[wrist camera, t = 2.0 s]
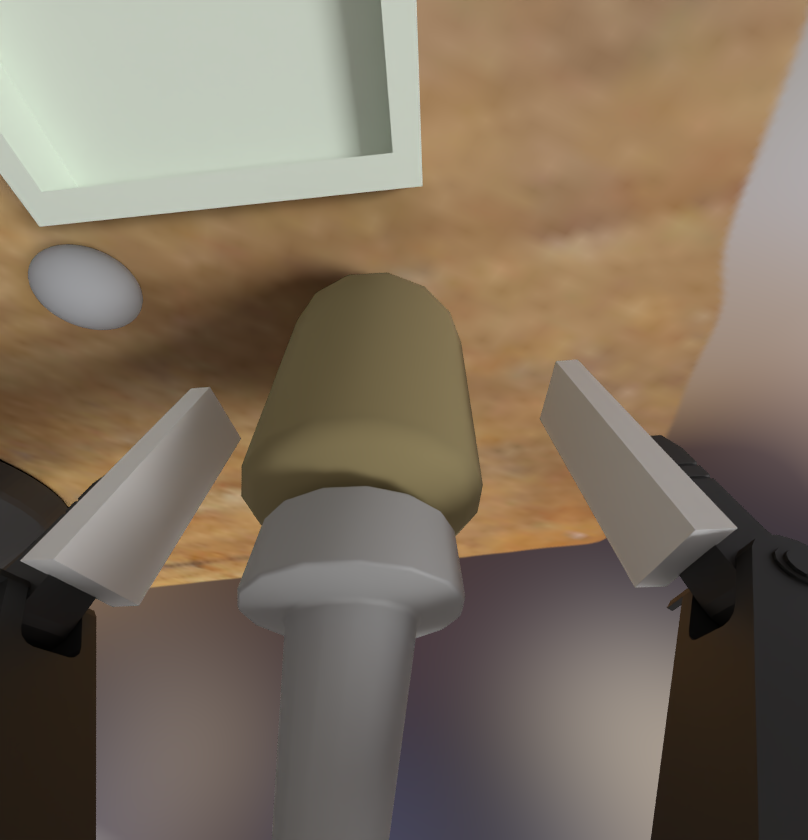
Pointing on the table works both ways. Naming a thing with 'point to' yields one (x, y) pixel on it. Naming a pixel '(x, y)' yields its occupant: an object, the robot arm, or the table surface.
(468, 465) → the squeeze bottle
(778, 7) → the table surface
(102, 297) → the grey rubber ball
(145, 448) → the robot arm
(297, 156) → the tray
